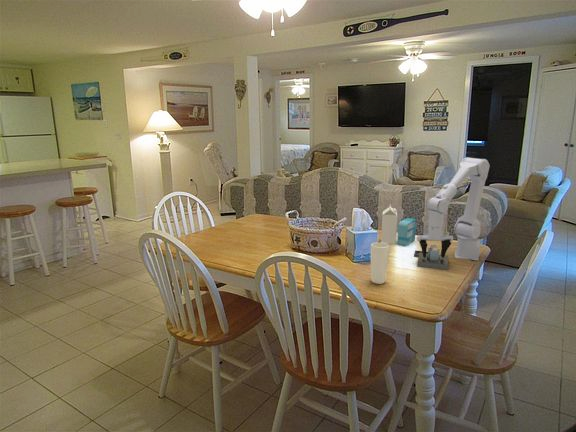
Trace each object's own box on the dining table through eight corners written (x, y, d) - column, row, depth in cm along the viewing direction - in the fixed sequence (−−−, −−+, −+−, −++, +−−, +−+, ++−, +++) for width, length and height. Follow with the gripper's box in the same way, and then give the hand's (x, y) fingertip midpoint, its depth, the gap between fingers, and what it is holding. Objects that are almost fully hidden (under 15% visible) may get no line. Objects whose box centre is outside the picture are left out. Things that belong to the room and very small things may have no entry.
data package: (405, 247, 196) (407, 223, 193) (396, 246, 199) (398, 222, 196) (415, 241, 205) (416, 218, 202) (406, 239, 208) (407, 217, 205)
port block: (447, 261, 177) (448, 255, 177) (447, 271, 166) (448, 264, 166) (418, 258, 182) (419, 252, 181) (417, 267, 171) (417, 261, 170)
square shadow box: (429, 255, 186) (429, 251, 185) (428, 259, 180) (429, 256, 179) (414, 253, 188) (415, 250, 188) (413, 257, 182) (414, 254, 182)
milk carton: (380, 244, 201) (382, 207, 196) (381, 240, 208) (383, 203, 203) (395, 245, 200) (398, 207, 195) (395, 241, 206) (397, 204, 202)
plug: (435, 263, 176) (437, 245, 174) (438, 266, 172) (439, 247, 170) (427, 263, 176) (428, 245, 174) (429, 266, 172) (431, 247, 170)
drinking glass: (367, 278, 160) (368, 242, 156) (384, 277, 161) (385, 241, 157) (372, 285, 154) (373, 247, 150) (389, 284, 154) (391, 247, 150)
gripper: (450, 223, 173) (447, 253, 177) (415, 223, 174) (413, 253, 177) (456, 228, 167) (453, 259, 170) (420, 228, 167) (418, 259, 170)
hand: (433, 256), depth 173 cm, fingers open, 7 cm apart
